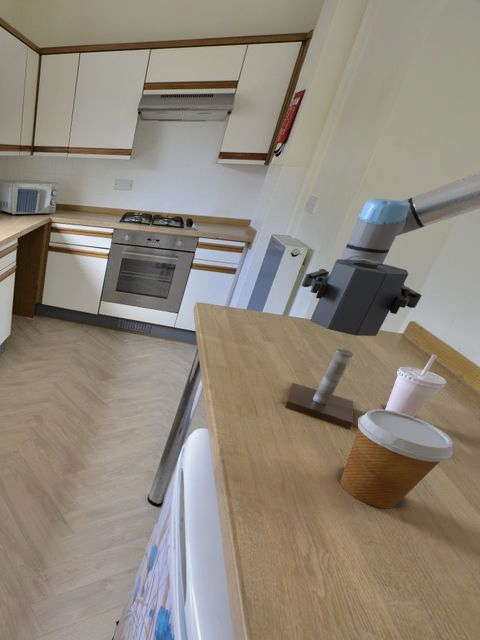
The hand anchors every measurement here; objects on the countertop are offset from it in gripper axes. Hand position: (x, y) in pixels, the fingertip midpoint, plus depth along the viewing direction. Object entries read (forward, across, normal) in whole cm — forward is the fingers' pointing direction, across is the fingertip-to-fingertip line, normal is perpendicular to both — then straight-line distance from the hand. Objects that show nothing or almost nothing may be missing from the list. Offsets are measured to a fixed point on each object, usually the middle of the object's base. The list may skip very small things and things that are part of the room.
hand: (357, 298), depth 75 cm
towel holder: (+3, -2, -22) cm, 22 cm away
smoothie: (-4, -14, -22) cm, 26 cm away
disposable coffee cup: (+27, -9, -22) cm, 36 cm away
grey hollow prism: (-4, 0, -7) cm, 8 cm away
